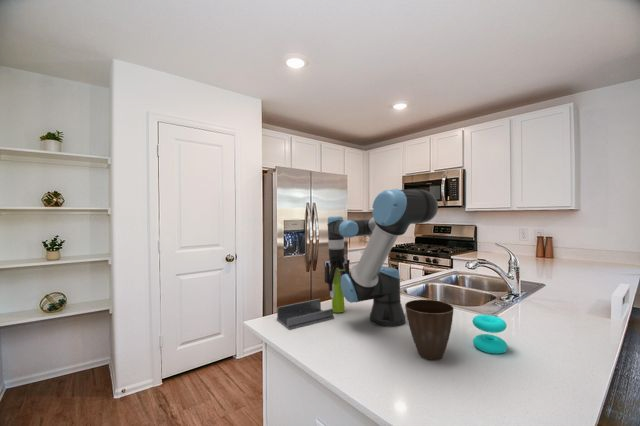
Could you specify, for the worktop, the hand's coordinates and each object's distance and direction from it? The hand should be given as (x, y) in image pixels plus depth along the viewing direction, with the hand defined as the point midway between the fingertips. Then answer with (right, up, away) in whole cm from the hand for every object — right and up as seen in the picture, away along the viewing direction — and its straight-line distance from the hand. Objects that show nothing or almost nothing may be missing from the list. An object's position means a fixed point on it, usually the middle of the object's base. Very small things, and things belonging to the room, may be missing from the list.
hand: (338, 296), depth 142 cm
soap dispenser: (+1, -7, 0) cm, 7 cm away
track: (-15, -8, -9) cm, 19 cm away
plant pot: (+28, -7, -45) cm, 53 cm away
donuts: (+49, -6, -42) cm, 65 cm away
